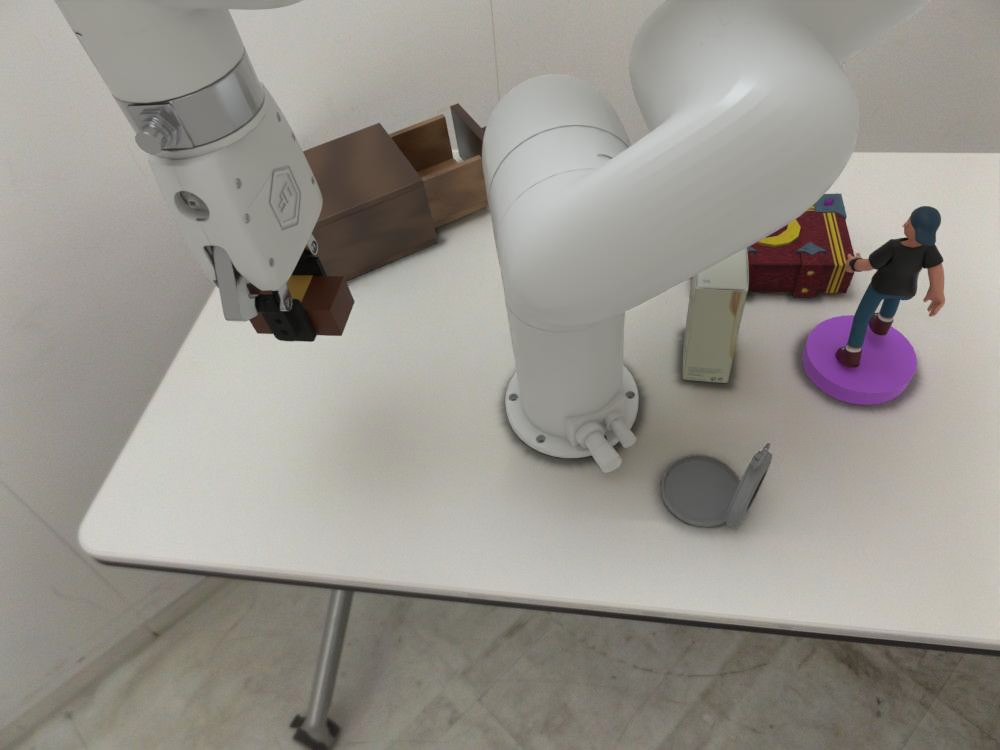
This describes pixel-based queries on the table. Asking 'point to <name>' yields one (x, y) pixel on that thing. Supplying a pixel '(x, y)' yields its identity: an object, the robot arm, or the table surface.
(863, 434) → the table surface
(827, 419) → the table surface
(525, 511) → the table surface
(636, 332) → the table surface
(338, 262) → the cabinet
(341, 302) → the chocolate bar
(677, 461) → the pocket watch
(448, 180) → the drawer
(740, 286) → the cosmetic box
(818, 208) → the decorative book
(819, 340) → the figurine
